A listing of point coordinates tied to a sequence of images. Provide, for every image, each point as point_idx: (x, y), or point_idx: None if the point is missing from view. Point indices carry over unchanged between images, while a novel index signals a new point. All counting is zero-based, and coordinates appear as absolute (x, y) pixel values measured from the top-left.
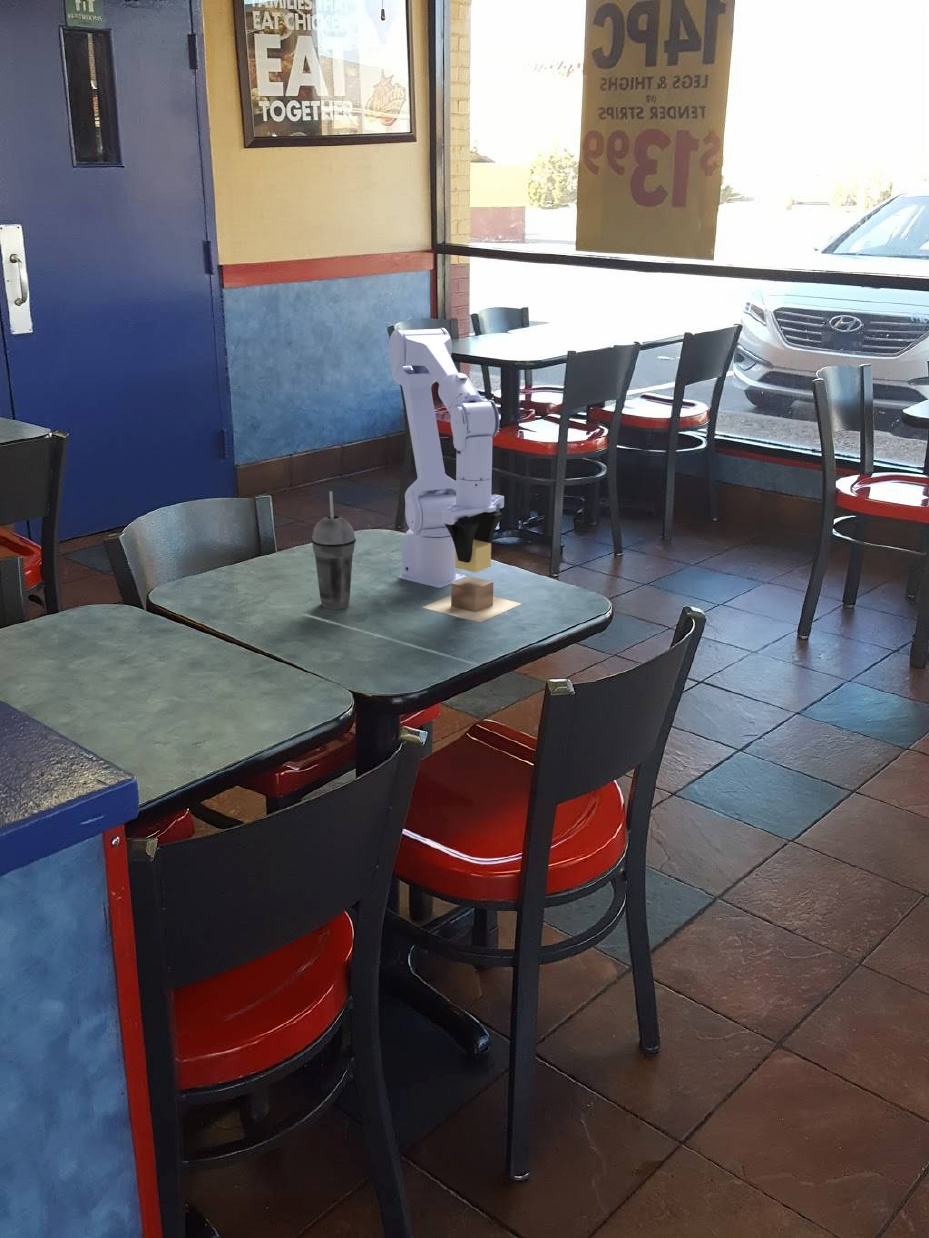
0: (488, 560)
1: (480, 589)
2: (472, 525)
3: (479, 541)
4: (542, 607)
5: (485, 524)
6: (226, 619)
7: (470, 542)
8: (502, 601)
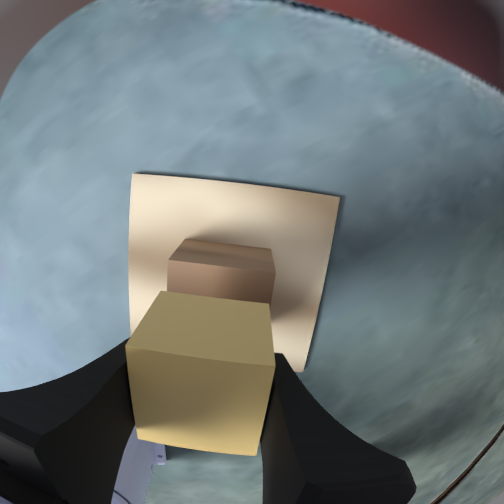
0: (170, 306)
1: (246, 266)
2: (398, 481)
3: (141, 401)
4: (115, 122)
5: (88, 449)
6: (432, 487)
7: (310, 408)
8: (146, 229)
